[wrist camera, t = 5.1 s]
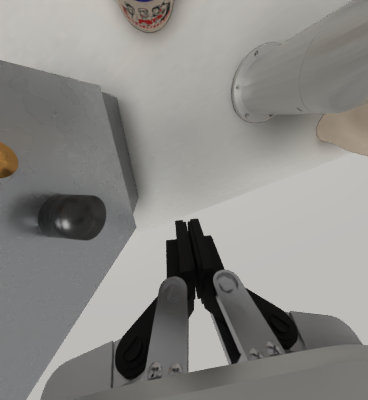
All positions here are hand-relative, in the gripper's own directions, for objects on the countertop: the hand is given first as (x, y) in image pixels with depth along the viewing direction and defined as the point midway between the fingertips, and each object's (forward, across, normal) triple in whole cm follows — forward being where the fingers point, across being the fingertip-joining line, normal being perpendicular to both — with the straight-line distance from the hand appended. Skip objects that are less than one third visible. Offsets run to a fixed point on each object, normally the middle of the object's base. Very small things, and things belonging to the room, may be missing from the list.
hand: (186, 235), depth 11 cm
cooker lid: (+5, +13, 0) cm, 13 cm away
